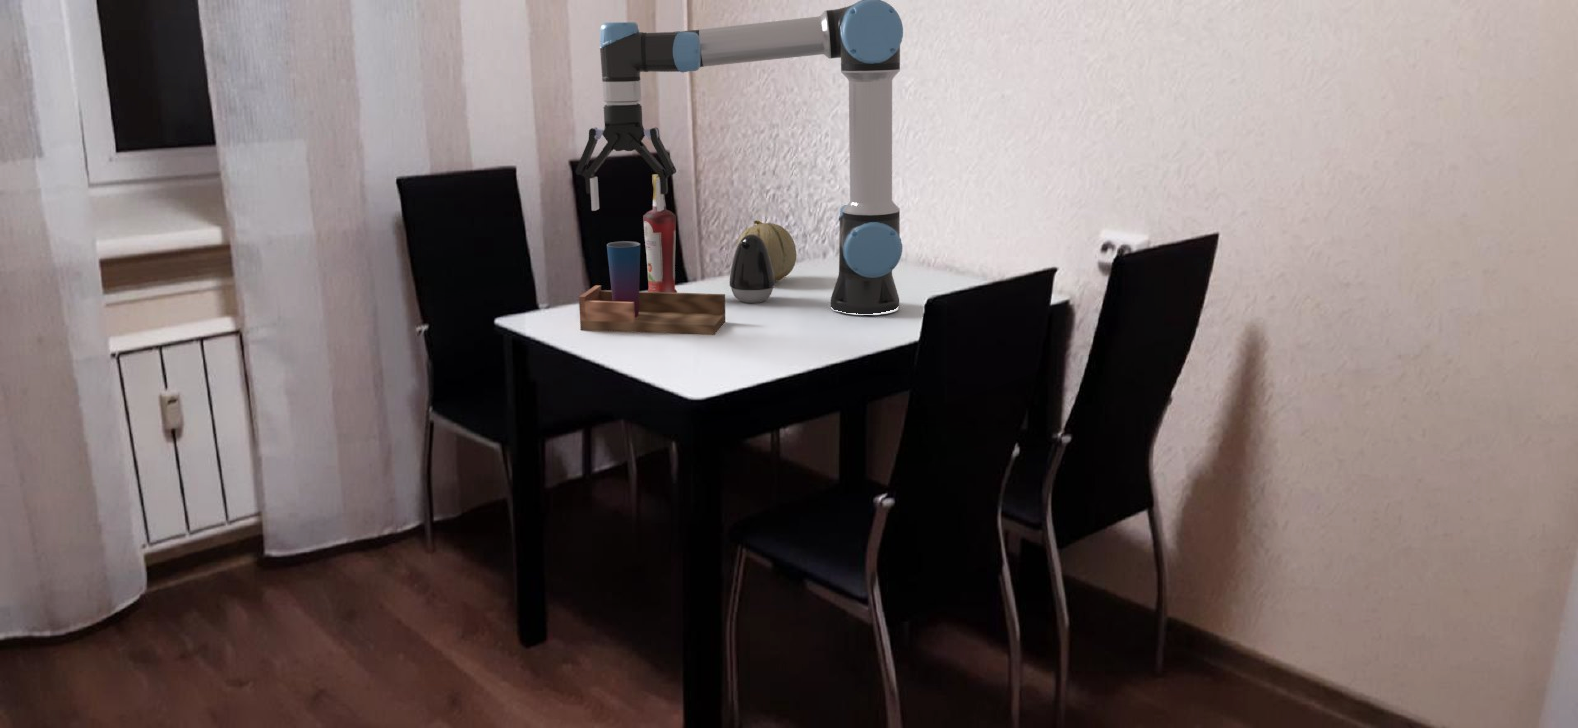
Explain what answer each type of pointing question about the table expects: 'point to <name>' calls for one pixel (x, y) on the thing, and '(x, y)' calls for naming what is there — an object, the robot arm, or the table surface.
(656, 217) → the liquor
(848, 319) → the table surface
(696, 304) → the board
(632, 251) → the cup
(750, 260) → the black egg-shaped device
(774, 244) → the cantaloupe
